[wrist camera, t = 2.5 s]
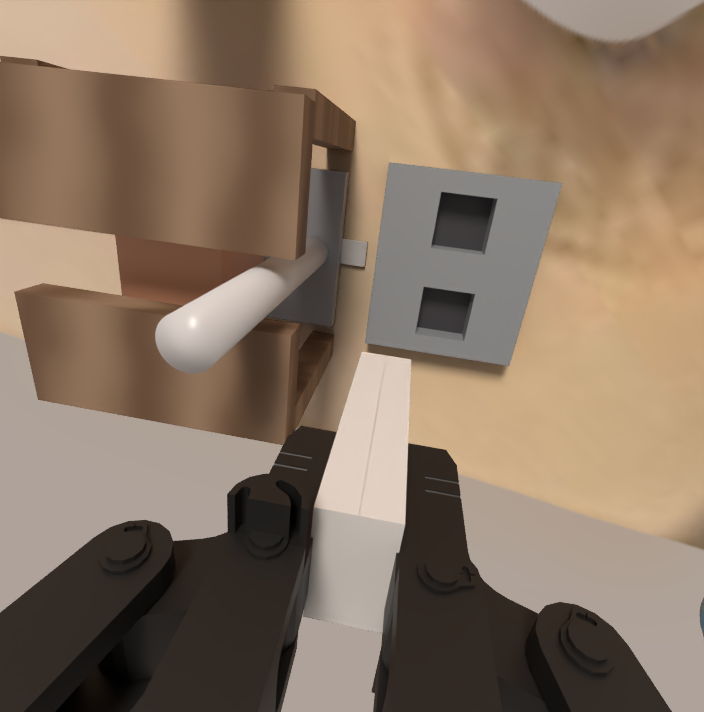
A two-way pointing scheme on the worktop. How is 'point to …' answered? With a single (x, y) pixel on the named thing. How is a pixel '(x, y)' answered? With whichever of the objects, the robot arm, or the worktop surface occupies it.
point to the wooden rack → (165, 232)
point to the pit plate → (457, 261)
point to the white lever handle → (238, 282)
